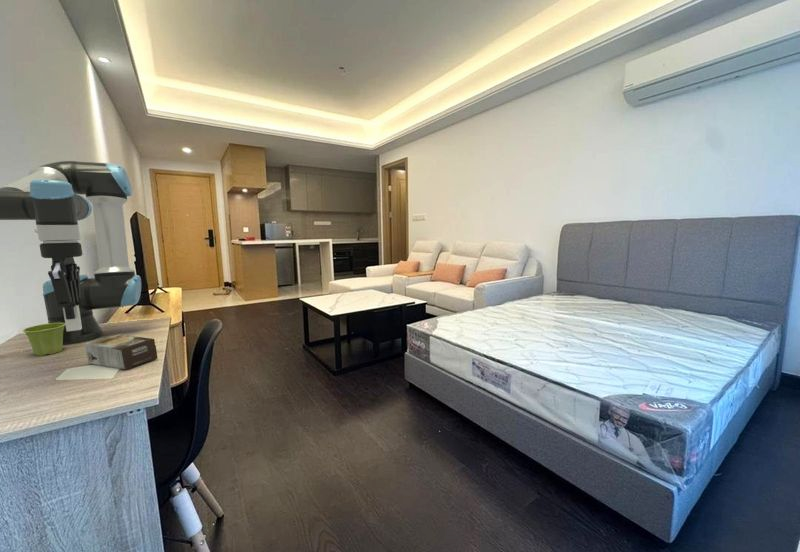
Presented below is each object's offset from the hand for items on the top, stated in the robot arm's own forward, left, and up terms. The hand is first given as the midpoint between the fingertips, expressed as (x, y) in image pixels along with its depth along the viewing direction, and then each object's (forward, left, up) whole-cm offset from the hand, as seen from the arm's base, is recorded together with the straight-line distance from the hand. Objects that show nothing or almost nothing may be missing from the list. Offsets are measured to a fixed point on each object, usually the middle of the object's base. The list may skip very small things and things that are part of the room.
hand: (74, 329), depth 88 cm
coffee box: (-10, +3, -9) cm, 14 cm away
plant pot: (-28, -15, -13) cm, 34 cm away
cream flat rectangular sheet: (+3, +2, -13) cm, 13 cm away
